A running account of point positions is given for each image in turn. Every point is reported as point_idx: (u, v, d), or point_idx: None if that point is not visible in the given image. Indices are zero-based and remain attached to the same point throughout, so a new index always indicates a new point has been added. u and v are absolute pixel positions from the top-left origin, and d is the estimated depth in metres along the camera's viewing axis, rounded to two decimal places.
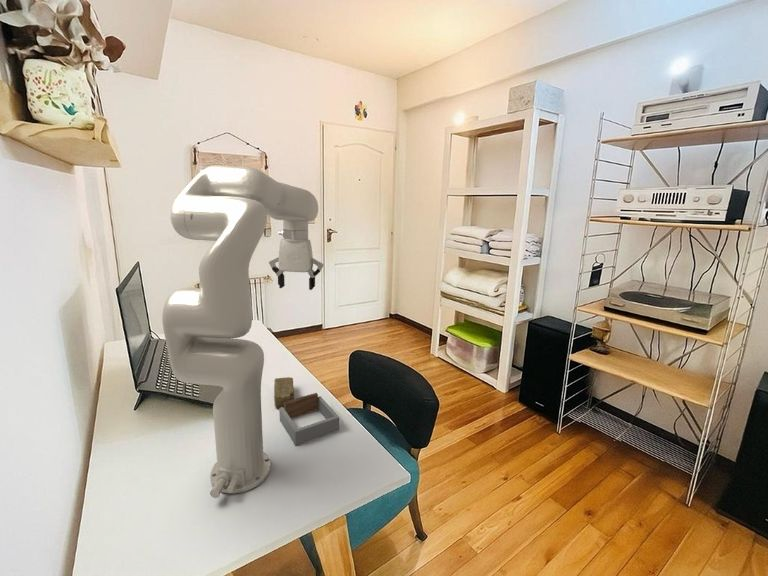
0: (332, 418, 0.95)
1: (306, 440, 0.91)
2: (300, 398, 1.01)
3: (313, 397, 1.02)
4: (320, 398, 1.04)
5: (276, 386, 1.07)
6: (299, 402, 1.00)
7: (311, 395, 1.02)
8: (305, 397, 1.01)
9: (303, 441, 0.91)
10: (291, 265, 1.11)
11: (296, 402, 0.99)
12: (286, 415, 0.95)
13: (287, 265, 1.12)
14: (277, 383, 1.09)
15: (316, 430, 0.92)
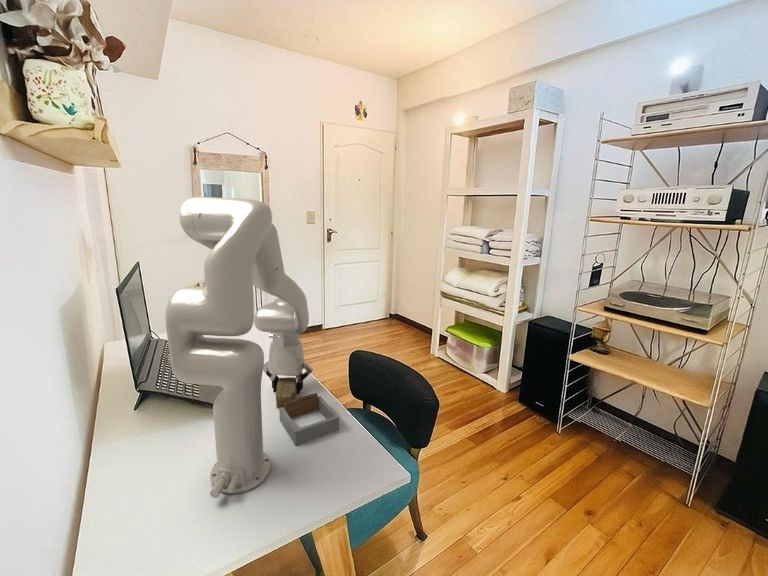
0: (332, 418, 0.95)
1: (306, 440, 0.91)
2: (300, 398, 1.01)
3: (313, 397, 1.02)
4: (320, 398, 1.04)
5: (279, 385, 1.08)
6: (299, 402, 1.00)
7: (311, 395, 1.02)
8: (305, 397, 1.01)
9: (303, 441, 0.91)
10: (282, 369, 1.08)
11: (296, 402, 0.99)
12: (286, 415, 0.95)
13: (277, 369, 1.08)
14: (280, 383, 1.09)
15: (316, 430, 0.92)
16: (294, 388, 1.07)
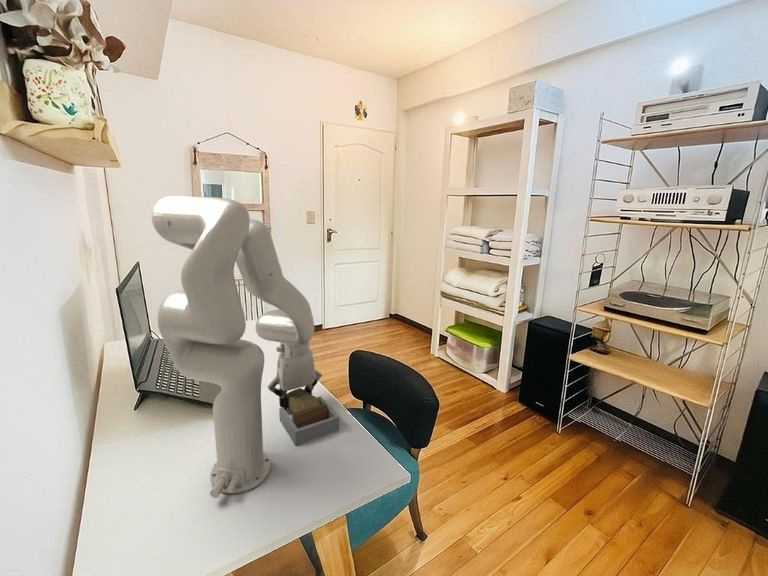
0: (332, 418, 0.95)
1: (306, 440, 0.91)
2: (309, 409, 0.96)
3: (322, 408, 0.97)
4: (320, 398, 1.04)
5: (297, 400, 0.99)
6: (308, 414, 0.95)
7: (320, 406, 0.97)
8: (314, 408, 0.96)
9: (303, 441, 0.91)
10: (297, 381, 1.00)
11: (305, 414, 0.94)
12: (286, 415, 0.95)
13: (292, 383, 0.99)
14: (295, 397, 1.01)
15: (316, 430, 0.92)
16: (314, 396, 1.02)
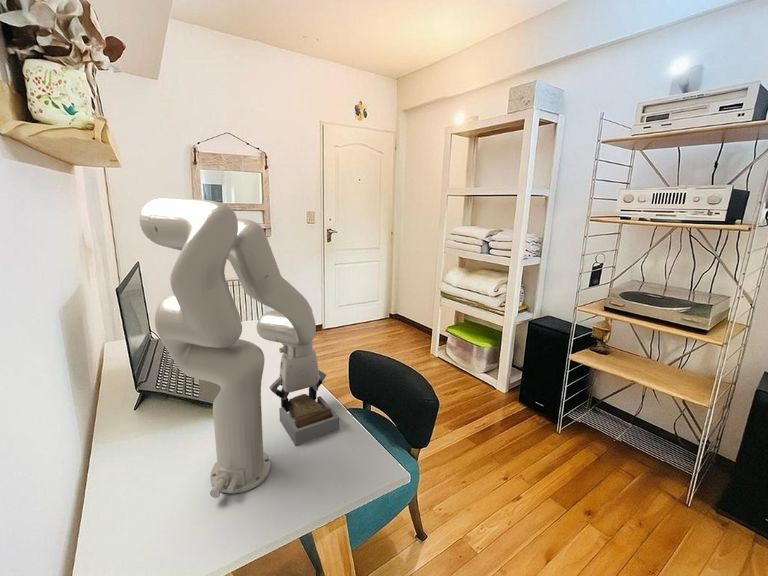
0: (332, 418, 0.95)
1: (306, 440, 0.91)
2: (312, 413, 0.94)
3: (326, 412, 0.96)
4: (320, 398, 1.04)
5: (300, 406, 0.98)
6: (311, 418, 0.93)
7: (324, 410, 0.96)
8: (317, 412, 0.95)
9: (303, 441, 0.91)
10: (300, 383, 0.98)
11: (308, 418, 0.93)
12: (286, 415, 0.95)
13: (295, 385, 0.97)
14: (298, 403, 0.99)
15: (316, 430, 0.92)
16: (318, 403, 1.00)
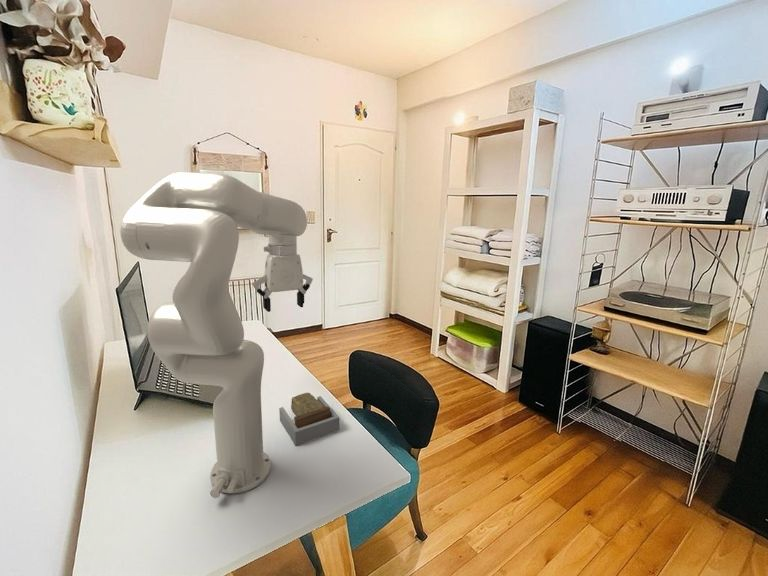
0: (332, 418, 0.95)
1: (306, 440, 0.91)
2: (311, 412, 0.94)
3: (325, 411, 0.96)
4: (320, 398, 1.04)
5: (302, 404, 0.99)
6: (310, 417, 0.94)
7: (323, 409, 0.96)
8: (317, 411, 0.95)
9: (303, 441, 0.91)
10: (285, 283, 1.00)
11: (307, 417, 0.93)
12: (286, 415, 0.95)
13: (280, 284, 1.00)
14: (300, 401, 1.00)
15: (316, 430, 0.92)
16: (319, 402, 1.01)
